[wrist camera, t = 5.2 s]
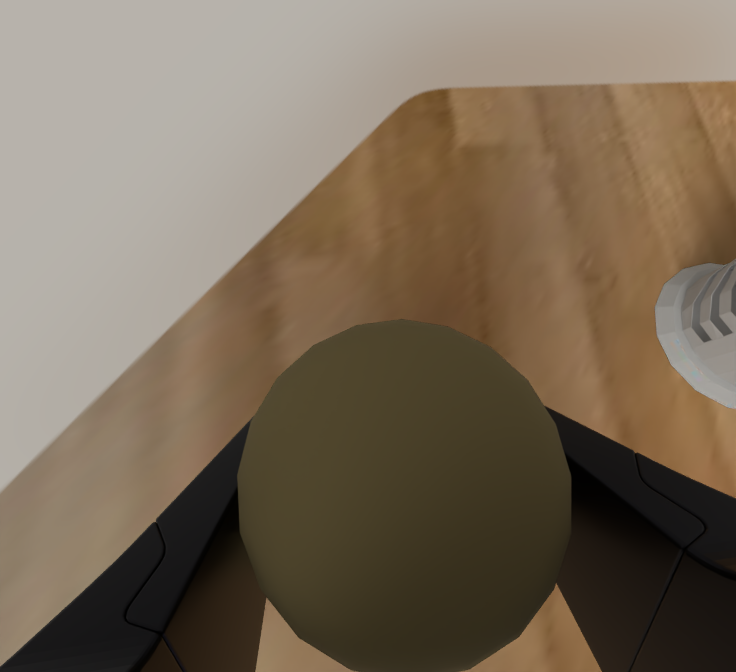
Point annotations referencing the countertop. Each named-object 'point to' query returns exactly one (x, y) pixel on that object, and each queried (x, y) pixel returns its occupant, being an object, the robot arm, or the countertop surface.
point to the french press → (701, 328)
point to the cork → (404, 498)
